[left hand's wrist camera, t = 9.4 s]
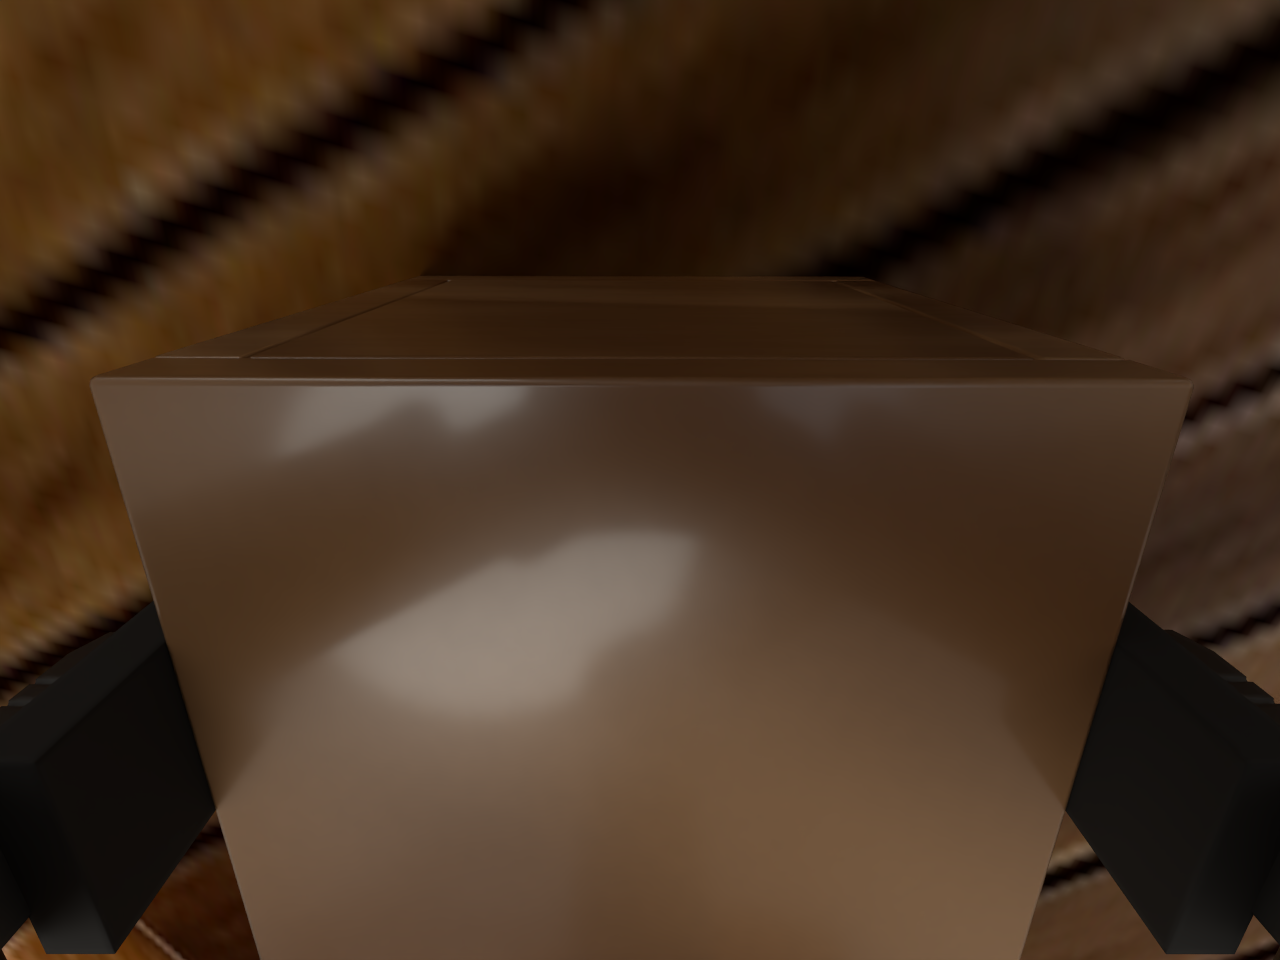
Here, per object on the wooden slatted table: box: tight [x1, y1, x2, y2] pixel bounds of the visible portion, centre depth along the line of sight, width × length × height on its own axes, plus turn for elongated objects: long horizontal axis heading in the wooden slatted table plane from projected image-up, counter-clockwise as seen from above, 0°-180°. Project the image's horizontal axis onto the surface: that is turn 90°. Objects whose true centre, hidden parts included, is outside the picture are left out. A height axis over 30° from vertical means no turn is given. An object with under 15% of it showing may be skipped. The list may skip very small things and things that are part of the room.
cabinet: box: [90, 276, 1193, 960], centre depth 16 cm, size 22×12×12 cm, turn 0°
